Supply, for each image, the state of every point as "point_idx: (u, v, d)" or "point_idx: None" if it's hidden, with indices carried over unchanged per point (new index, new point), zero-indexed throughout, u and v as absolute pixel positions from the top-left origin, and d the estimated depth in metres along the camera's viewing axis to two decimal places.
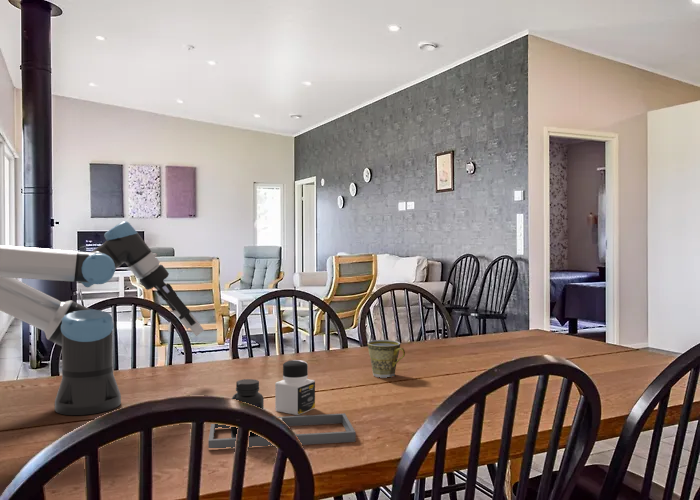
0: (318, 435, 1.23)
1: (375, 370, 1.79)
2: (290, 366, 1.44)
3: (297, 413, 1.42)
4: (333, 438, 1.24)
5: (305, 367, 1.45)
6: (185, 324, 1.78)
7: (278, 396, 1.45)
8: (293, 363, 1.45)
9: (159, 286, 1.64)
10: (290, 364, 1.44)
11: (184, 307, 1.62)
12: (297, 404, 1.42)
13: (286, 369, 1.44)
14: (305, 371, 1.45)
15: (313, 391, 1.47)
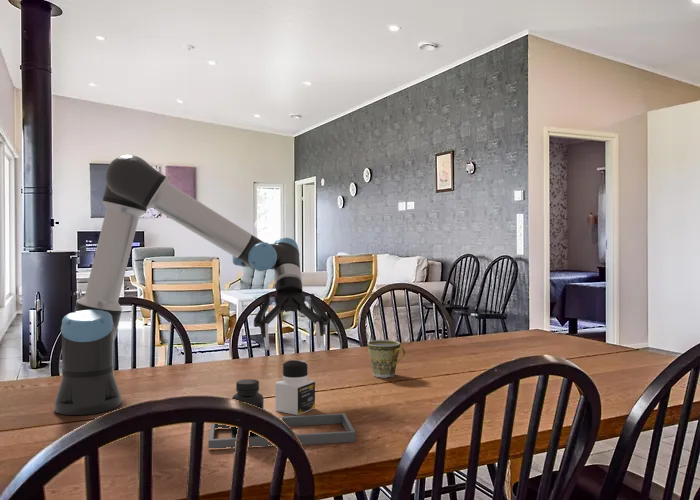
0: (318, 435, 1.23)
1: (375, 370, 1.79)
2: (290, 366, 1.44)
3: (297, 413, 1.42)
4: (333, 438, 1.24)
5: (305, 367, 1.45)
6: (268, 339, 1.55)
7: (278, 396, 1.45)
8: (293, 363, 1.45)
9: (302, 294, 1.67)
10: (290, 364, 1.44)
11: None
12: (297, 404, 1.42)
13: (286, 369, 1.44)
14: (305, 371, 1.45)
15: (313, 391, 1.47)
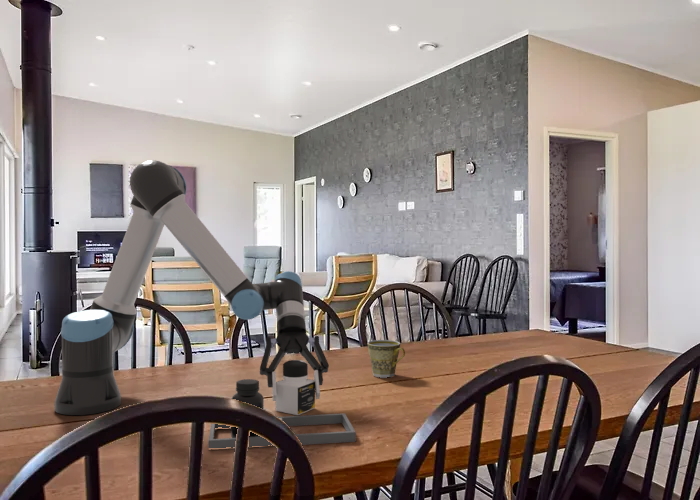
0: (318, 435, 1.23)
1: (375, 370, 1.79)
2: (290, 365, 1.44)
3: (297, 413, 1.42)
4: (333, 438, 1.24)
5: (305, 367, 1.45)
6: None
7: (278, 396, 1.45)
8: (293, 363, 1.45)
9: (306, 334, 1.56)
10: (290, 364, 1.44)
11: None
12: (297, 404, 1.42)
13: (286, 369, 1.44)
14: (305, 371, 1.45)
15: (313, 391, 1.47)
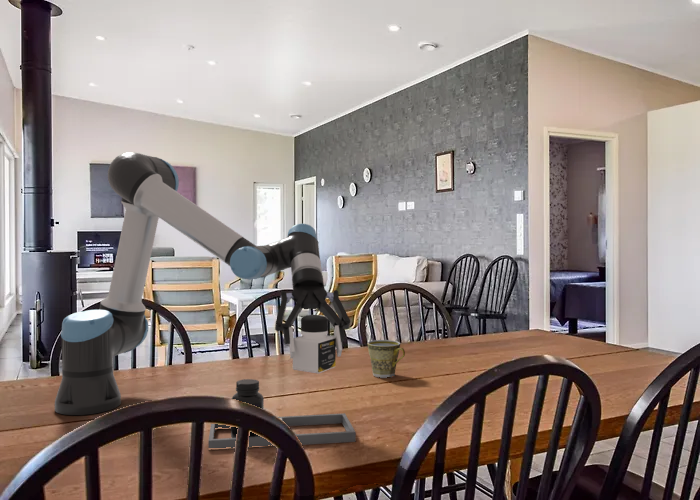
0: (318, 435, 1.23)
1: (375, 370, 1.79)
2: (309, 319, 1.31)
3: (317, 371, 1.29)
4: (333, 438, 1.24)
5: (325, 321, 1.32)
6: None
7: (296, 354, 1.32)
8: (312, 317, 1.32)
9: (324, 288, 1.43)
10: (309, 318, 1.31)
11: None
12: (317, 361, 1.29)
13: (305, 323, 1.31)
14: (325, 326, 1.32)
15: (334, 348, 1.34)
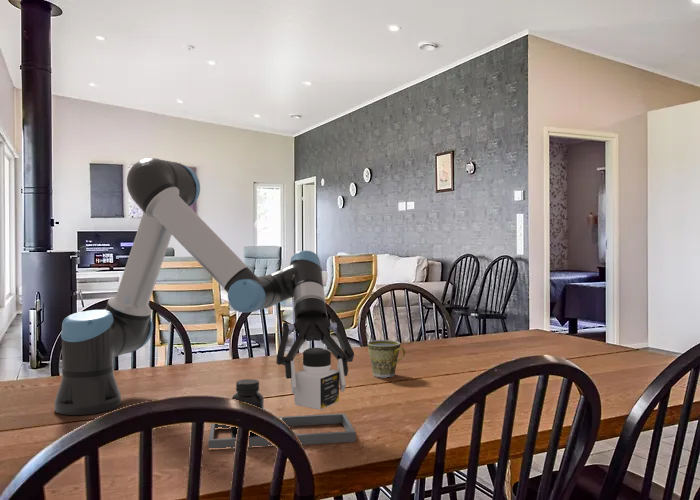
0: (318, 435, 1.23)
1: (375, 370, 1.79)
2: (311, 353, 1.26)
3: (320, 407, 1.25)
4: (333, 438, 1.24)
5: (328, 355, 1.28)
6: (295, 381, 1.26)
7: (298, 389, 1.28)
8: (315, 351, 1.27)
9: (327, 319, 1.38)
10: (311, 352, 1.27)
11: None
12: (320, 397, 1.25)
13: (307, 357, 1.27)
14: (328, 360, 1.28)
15: (337, 382, 1.30)
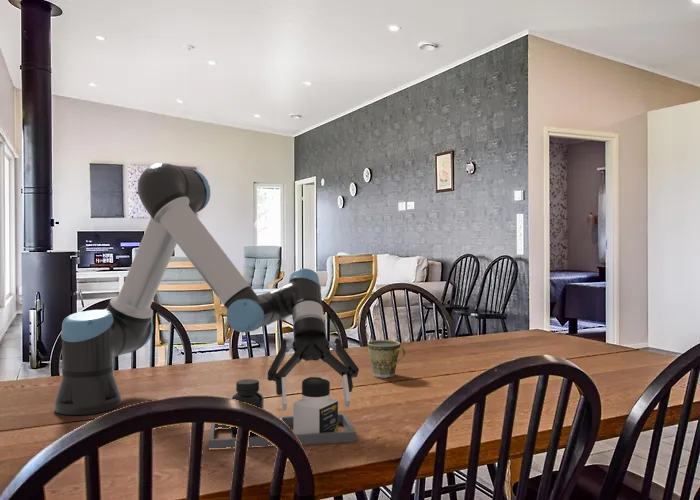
0: (318, 435, 1.23)
1: (375, 370, 1.79)
2: (310, 384, 1.27)
3: None
4: (333, 438, 1.24)
5: (327, 385, 1.28)
6: None
7: (297, 418, 1.28)
8: (314, 381, 1.28)
9: (326, 338, 1.39)
10: (310, 382, 1.27)
11: None
12: (319, 428, 1.25)
13: (306, 388, 1.27)
14: (327, 390, 1.28)
15: (336, 412, 1.30)
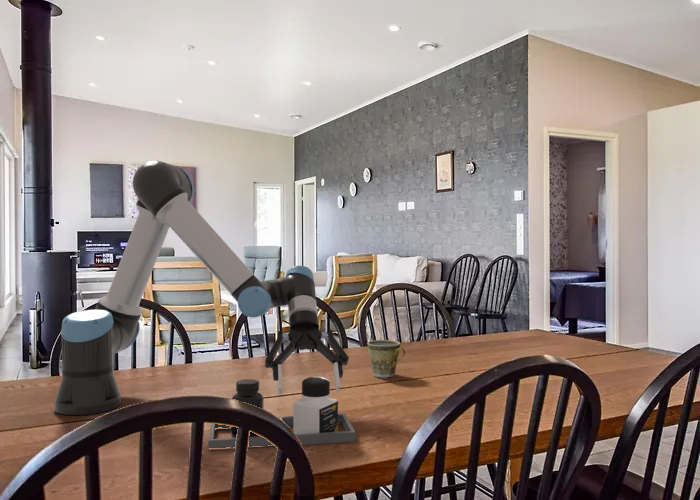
0: (318, 435, 1.23)
1: (375, 370, 1.79)
2: (310, 384, 1.27)
3: None
4: (333, 438, 1.24)
5: (327, 385, 1.28)
6: None
7: (296, 418, 1.28)
8: (314, 381, 1.28)
9: None
10: (310, 382, 1.27)
11: None
12: (319, 428, 1.25)
13: (306, 388, 1.27)
14: (327, 390, 1.28)
15: (336, 412, 1.30)
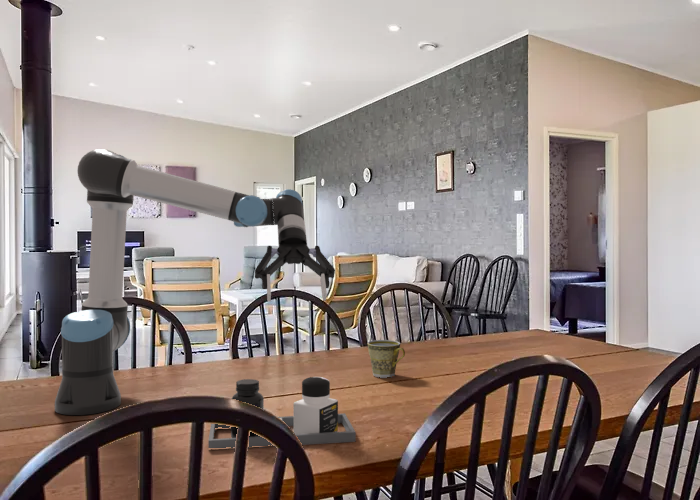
0: (318, 435, 1.23)
1: (375, 370, 1.79)
2: (310, 384, 1.27)
3: None
4: (333, 438, 1.24)
5: (327, 385, 1.28)
6: (270, 290, 1.45)
7: (297, 418, 1.28)
8: (314, 381, 1.28)
9: (307, 246, 1.57)
10: (310, 382, 1.27)
11: None
12: (319, 428, 1.25)
13: (306, 388, 1.27)
14: (327, 390, 1.28)
15: (336, 412, 1.30)
